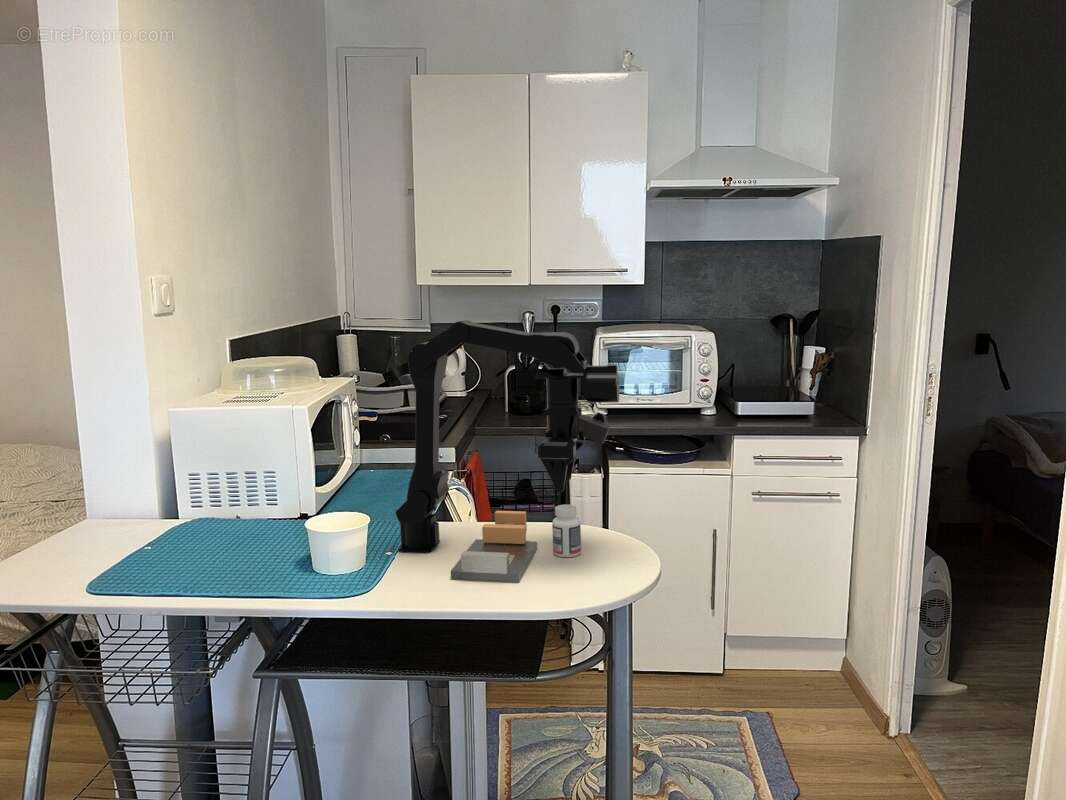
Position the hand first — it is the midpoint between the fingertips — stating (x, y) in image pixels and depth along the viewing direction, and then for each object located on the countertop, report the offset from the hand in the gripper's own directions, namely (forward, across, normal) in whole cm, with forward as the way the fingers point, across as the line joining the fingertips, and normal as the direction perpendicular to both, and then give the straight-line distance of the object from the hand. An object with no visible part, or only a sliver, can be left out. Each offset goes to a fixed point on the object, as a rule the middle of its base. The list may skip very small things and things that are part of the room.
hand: (564, 485), depth 147 cm
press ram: (+11, +3, +12) cm, 16 cm away
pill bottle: (+13, 0, 0) cm, 13 cm away
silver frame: (+13, -7, +12) cm, 19 cm away
